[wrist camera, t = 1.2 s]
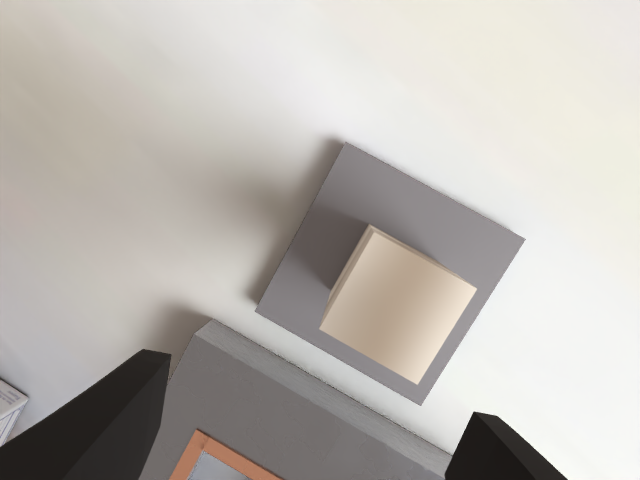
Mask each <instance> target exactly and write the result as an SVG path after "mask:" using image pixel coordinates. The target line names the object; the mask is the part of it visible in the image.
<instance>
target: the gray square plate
mask: <svg viewBox="0 0 640 480" xmlns="http://www.w3.org/2000/svg"><path fill="white" fill-rule="evenodd" d="M368 224H371V225H372V226H374V227H376V228H378V229H380V230H381V231H383V232H385V233H387V234H389V235H391V236H392V237H394V238H396V239H398V240H400V241H402V242H403V243H405V244H407V245H409V246H411V247H412V248H414V249H416V250H418V251H420V252H422V253H423V254H425V255H427V256H429V257H431V258H432V259H434V260H436V261H438V262H440V263H441V264H442V265H444V266H445V267H447V268H448V269H450V270H451V271H453V272H454V273H455V274H457V275H458V276H460V277H461V278H463V279H464V280H466V281H467V282H468V283H470V284H471V285H473V286H474V287H476V288H477V290H476V292H475V293H474V295H473V297H472V298H471V300H470V301H469V303H468V305H467V306H466V308H465V309H464V311H463V313H462V314H461V316H460V318H459V319H458V321H457V322H456V324H455V326H454V327H453V329H452V330H451V332H450V334H449V335H448V337H447V338H446V340H445V342H444V343H443V345H442V346H441V348H440V350H439V351H438V353H437V354H436V356H435V358H434V359H433V361H432V362H431V364H430V366H429V367H428V369H427V370H426V372H425V374H424V375H423V377H422V379H421V380H420V382H419V383H418V385H417V384H415V383H413V382H411V381H410V380H408V379H406V378H404V377H403V376H401V375H399V374H397V373H396V372H394V371H392V370H390V369H389V368H387V367H385V366H383V365H381V364H380V363H378V362H376V361H374V360H373V359H371V358H369V357H367V356H366V355H364V354H362V353H360V352H359V351H357V350H355V349H353V348H352V347H350V346H348V345H346V344H344V343H343V342H341V341H339V340H337V339H336V338H334V337H332V336H330V335H329V334H327V333H325V332H323V331H322V330H320V329H319V327H320V324H321V321H322V318H323V315H324V311H325V308H326V305H327V302H328V299H329V295H330V292H331V290H332V288H333V286H334V285H335V283H336V281H337V279H338V277H339V276H340V274H341V272H342V270H343V269H344V267H345V265H346V263H347V262H348V260H349V258H350V256H351V254H352V253H353V251H354V249H355V247H356V246H357V244H358V242H359V240H360V238H361V237H362V235H363V233H364V231H365V230H366V228H367V226H368ZM525 240H526V239H525V238H523V237H521V236H519V235H517V234H515V233H513V232H512V231H510V230H508V229H506V228H504V227H502V226H501V225H499V224H497V223H495V222H493V221H491V220H489V219H488V218H486V217H484V216H482V215H480V214H478V213H476V212H475V211H473V210H471V209H469V208H467V207H465V206H464V205H462V204H460V203H458V202H456V201H454V200H452V199H451V198H449V197H447V196H445V195H443V194H441V193H439V192H438V191H436V190H434V189H432V188H430V187H428V186H427V185H425V184H423V183H421V182H419V181H417V180H415V179H414V178H412V177H410V176H408V175H406V174H404V173H403V172H401V171H399V170H397V169H395V168H393V167H391V166H390V165H388V164H386V163H384V162H382V161H380V160H378V159H377V158H375V157H373V156H371V155H369V154H367V153H366V152H364V151H362V150H360V149H358V148H356V147H354V146H353V145H351V144H349V143H347V142H345V144H344V146H343V148H342V150H341V151H340V153H339V155H338V157H337V159H336V161H335V163H334V164H333V166H332V168H331V170H330V172H329V174H328V176H327V178H326V179H325V181H324V183H323V185H322V187H321V189H320V191H319V192H318V194H317V196H316V198H315V200H314V202H313V204H312V205H311V207H310V209H309V211H308V213H307V215H306V217H305V218H304V220H303V222H302V224H301V226H300V228H299V230H298V231H297V233H296V235H295V237H294V239H293V241H292V243H291V244H290V246H289V248H288V250H287V252H286V254H285V256H284V258H283V259H282V261H281V263H280V265H279V267H278V269H277V271H276V272H275V274H274V276H273V278H272V280H271V282H270V284H269V285H268V287H267V289H266V291H265V293H264V295H263V297H262V298H261V300H260V302H259V304H258V306H257V308H256V310H255V312H257V313H258V314H260V315H262V316H264V317H265V318H267V319H269V320H271V321H272V322H274V323H276V324H278V325H279V326H281V327H283V328H285V329H286V330H288V331H290V332H292V333H293V334H295V335H297V336H299V337H300V338H302V339H304V340H306V341H308V342H309V343H311V344H313V345H315V346H316V347H318V348H320V349H322V350H323V351H325V352H327V353H329V354H330V355H332V356H334V357H336V358H337V359H339V360H341V361H343V362H344V363H346V364H348V365H350V366H351V367H353V368H355V369H357V370H358V371H360V372H362V373H364V374H365V375H367V376H369V377H371V378H372V379H374V380H376V381H378V382H379V383H381V384H383V385H385V386H386V387H388V388H390V389H392V390H393V391H395V392H397V393H399V394H400V395H402V396H404V397H406V398H408V399H409V400H411V401H413V402H415V403H416V404H418V405H420V406H421V405H422V403H423V401H424V400H425V398H426V397H427V395H428V393H429V392H430V390H431V389H432V387H433V386H434V384H435V382H436V381H437V379H438V378H439V376H440V374H441V373H442V371H443V370H444V368H445V367H446V365H447V363H448V362H449V360H450V359H451V357H452V355H453V354H454V352H455V351H456V349H457V347H458V346H459V344H460V343H461V341H462V340H463V338H464V336H465V335H466V333H467V332H468V330H469V328H470V327H471V325H472V324H473V322H474V320H475V319H476V317H477V316H478V314H479V313H480V311H481V309H482V308H483V306H484V305H485V303H486V301H487V300H488V298H489V297H490V295H491V293H492V292H493V290H494V289H495V287H496V286H497V284H498V282H499V281H500V279H501V278H502V276H503V274H504V273H505V271H506V270H507V268H508V266H509V265H510V263H511V262H512V260H513V259H514V257H515V255H516V254H517V252H518V251H519V249H520V247H521V246H522V244H523V243H524V241H525Z"/></svg>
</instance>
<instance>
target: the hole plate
mask: <svg viewBox="0 0 640 480" xmlns="http://www.w3.org/2000/svg"><path fill="white" fill-rule="evenodd" d="M204 451H205V452H207V453H208V454H210V455H212V456H214V457H215V458H217V459H219V460H220V461H222V462H224V463H225V464H227V465H229V466H230V467H232V468H234V469H235V470H237V471H239V472H241V473H242V474H244V475H246V476H247V477H249V478H251V479H252V480H445V476H444V474H445V471H446V469H447V467H448V465H449V463H450V461H451V459H452V457H453V456H451V455H449V454H448V453H446V452H444V451H442V450H441V449H439V448H437V447H436V446H434V445H432V444H430V443H429V442H427V441H425V440H423V439H422V438H420V437H418V436H416V435H415V434H413V433H411V432H409V431H408V430H406V429H404V428H402V427H401V426H399V425H397V424H395V423H394V422H392V421H390V420H388V419H387V418H385V417H383V416H382V415H380V414H378V413H376V412H375V411H373V410H371V409H369V408H368V407H366V406H364V405H362V404H361V403H359V402H357V401H355V400H354V399H352V398H350V397H348V396H347V395H345V394H343V393H341V392H340V391H338V390H336V389H334V388H333V387H331V386H329V385H328V384H326V383H324V382H322V381H321V380H319V379H317V378H315V377H314V376H312V375H310V374H308V373H307V372H305V371H303V370H301V369H300V368H298V367H296V366H294V365H293V364H291V363H289V362H287V361H286V360H284V359H282V358H280V357H279V356H277V355H275V354H274V353H272V352H270V351H268V350H267V349H265V348H263V347H261V346H260V345H258V344H256V343H254V342H253V341H251V340H249V339H247V338H246V337H244V336H242V335H240V334H239V333H237V332H235V331H233V330H232V329H230V328H228V327H227V326H225V325H223V324H221V323H220V322H218V321H216V320H214V319H212V320H211V321H209V322H208V323H207V324H206V325H204V326H203V327H202V328H201V329H199V330H198V331H197V332H195V333H194V334H193V336H192V338H191V340H190V342H189V344H188V346H187V348H186V350H185V352H184V354H183V356H182V358H181V359H180V361H179V363H178V365H177V367H176V369H175V371H174V373H173V375H172V377H171V379H170V381H169V383H168V385H167V387H166V393H165V400H164V406H163V413H162V419H161V426H160V429H159V431H158V434H157V436H156V439H155V441H154V444H153V446H152V449H151V451H150V454H149V456H148V458H147V461H146V463H145V466H144V468H143V471H142V473H141V475H140V477H139V479H138V480H189V478H190V477H191V475H192V473H193V471H194V469H195V468H196V466H197V464H198V462H199V460H200V458H201V457H202V455H203V453H204Z"/></svg>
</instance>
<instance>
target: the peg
mask: <svg viewBox="0 0 640 480" xmlns="http://www.w3.org/2000/svg"><path fill="white" fill-rule="evenodd" d="M476 290H477V288H476V287H474V286H473V285H471V284H470V283H468V282H467V281H466V280H464V279H463V278H461V277H460V276H458V275H457V274H455V273H454V272H453V271H451V270H450V269H448V268H447V267H445V266H444V265H442V264H441V263H440V262H438V261H436V260H434V259H432V258H431V257H429V256H427V255H425V254H423V253H422V252H420V251H418V250H416V249H414V248H412V247H411V246H409V245H407V244H405V243H403V242H402V241H400V240H398V239H396V238H394V237H392V236H391V235H389V234H387V233H385V232H383V231H381V230H380V229H378V228H376V227H374V226H372V225H371V224H368V226H367V228H366V230H365V231H364V233H363V235H362V237H361V238H360V240H359V242H358V244H357V246H356V247H355V249H354V251H353V253H352V254H351V256H350V258H349V260H348V262H347V263H346V265H345V267H344V269H343V270H342V272H341V274H340V276H339V277H338V279H337V281H336V283H335V285H334V286H333V288H332V290H331V292H330V295H329V299H328V302H327V305H326V308H325V311H324V315H323V318H322V321H321V324H320V327H319V329H320V330H322V331H323V332H325V333H327V334H329V335H330V336H332V337H334V338H336V339H337V340H339V341H341V342H343V343H344V344H346V345H348V346H350V347H352V348H353V349H355V350H357V351H359V352H360V353H362V354H364V355H366V356H367V357H369V358H371V359H373V360H374V361H376V362H378V363H380V364H381V365H383V366H385V367H387V368H389V369H390V370H392V371H394V372H396V373H397V374H399V375H401V376H403V377H404V378H406V379H408V380H410V381H411V382H413V383H415V384H417V385H418V383H419V382H420V380H421V379H422V377H423V375H424V374H425V372H426V370H427V369H428V367H429V366H430V364H431V362H432V361H433V359H434V358H435V356H436V354H437V353H438V351H439V350H440V348H441V346H442V345H443V343H444V342H445V340H446V338H447V337H448V335H449V334H450V332H451V330H452V329H453V327H454V326H455V324H456V322H457V321H458V319H459V318H460V316H461V314H462V313H463V311H464V309H465V308H466V306H467V305H468V303H469V301H470V300H471V298H472V297H473V295H474V293H475V292H476Z"/></svg>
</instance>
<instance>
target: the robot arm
mask: <svg viewBox="0 0 640 480" xmlns="http://www.w3.org/2000/svg"><path fill="white" fill-rule="evenodd" d="M170 360H171V354H166V353H161V352H156V351H151V350H145V349H143V350H141V351H139V352H138V353H136V354H135V355H133V356H132V357H131V358H129V359H128V360H127V361H125V362H124V363H123V364H121V365H120V366H119V367H117V368H116V369H115V370H113V371H112V372H110V373H109V374H108V375H106V376H105V377H104V378H102V379H101V380H99V381H98V382H97V383H95V384H94V385H93V386H91V387H90V388H88V389H87V390H86V391H84V392H83V393H81V394H80V395H78V396H77V397H75V398H74V399H72V400H71V401H70V402H68V403H67V404H65V405H64V406H62V407H61V408H59V409H58V410H57V411H55V412H54V413H52V414H51V415H49V416H48V417H46V418H45V419H43V420H42V421H40V422H39V423H37V424H35V425H34V426H32V427H31V428H29V429H27V430H26V431H24V432H23V433H21V434H20V435H18V436H16V437H15V438H13V439H12V440H10V441H9V442H7V443H5V444H4V445H2V446H1V447H0V480H138V479H139V477H140V475H141V473H142V471H143V468H144V466H145V463H146V461H147V458H148V456H149V454H150V451H151V449H152V446H153V444H154V441H155V439H156V436H157V434H158V431H159V429H160V426H161V419H162V413H163V406H164V400H165V393H166V386H167V380H168V373H169V366H170ZM444 476H445V480H568V479H567V478H565V477H564V476H563V475H562V474H561V473H560V472H559V471H558V470H557V469H556V468H555V467H554V466H553V465H551V464H550V463H549V462H548V461H547V460H546V459H545V458H544V457H543V456H542V455H541V454H540V453H539V452H538V451H536V450H535V449H534V448H533V447H532V446H531V445H530V444H529V443H528V442H527V441H526V440H524V439H523V438H522V437H521V436H520V435H519V434H518V433H517V432H516V431H514V430H513V429H512V428H511V427H510V426H509V425H507V424H506V423H505V422H504V421H503V420H501V419H500V418H499V417H498V416H495V415H489V414H484V413H479V412H473V414H472V416H471V418H470V420H469V423H468V425H467V427H466V429H465V431H464V433H463V435H462V437H461V440H460V442H459V444H458V446H457V448H456V450H455V452H454V454H453V457H452V459H451V461H450V463H449V465H448V467H447V469H446V471H445V474H444Z"/></svg>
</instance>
